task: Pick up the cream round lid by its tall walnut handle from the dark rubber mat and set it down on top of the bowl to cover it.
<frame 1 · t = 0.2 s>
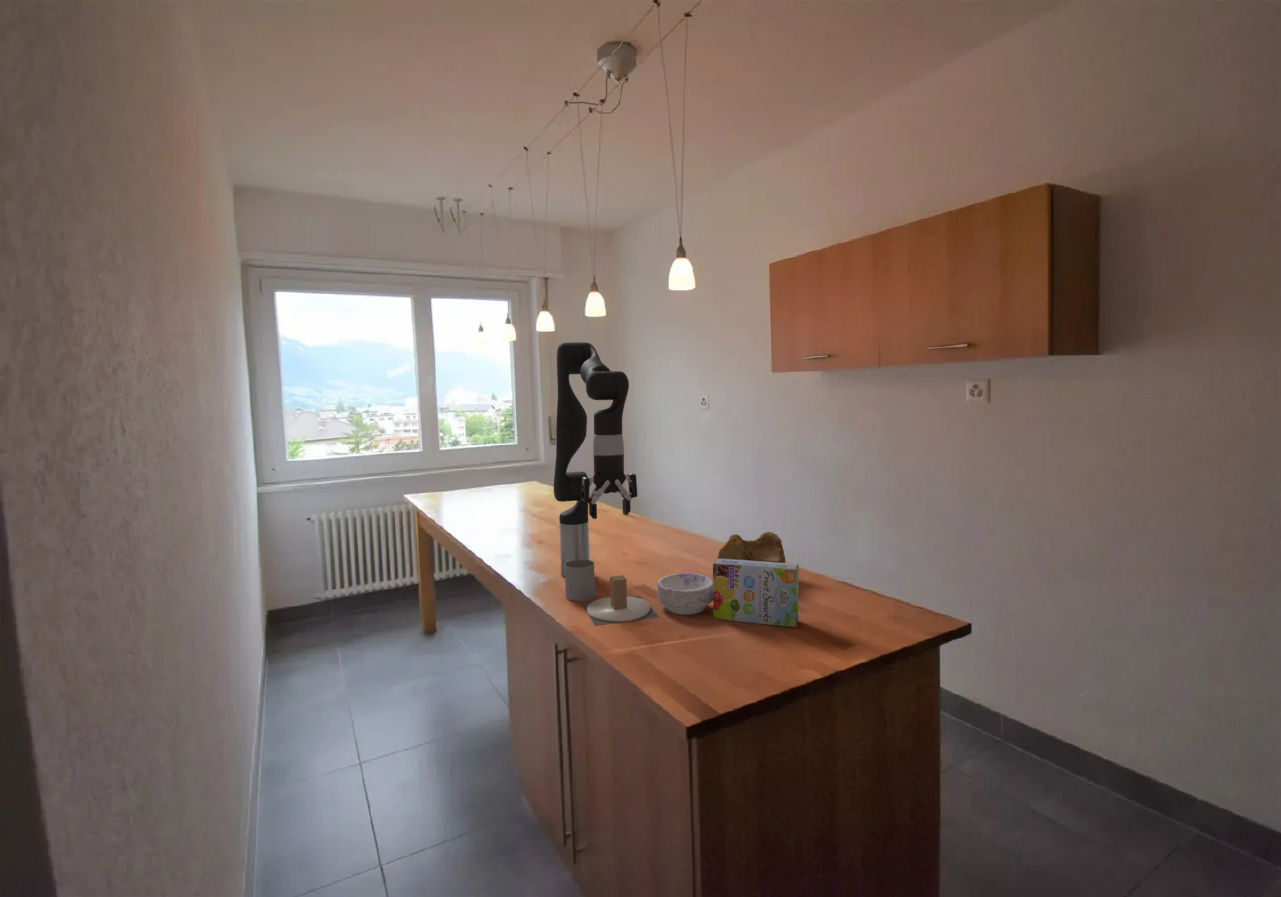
hand: (610, 516, 154), 28 cm above the table, tool pointing down, fingers open, 8 cm apart
mat: (618, 611, 165), on the table
snack box: (755, 620, 158), on the table
cup: (580, 598, 177), on the table
lid: (618, 609, 165), resting on mat
paper bowls: (685, 610, 166), on the table
rough brown rock: (757, 585, 186), on the table
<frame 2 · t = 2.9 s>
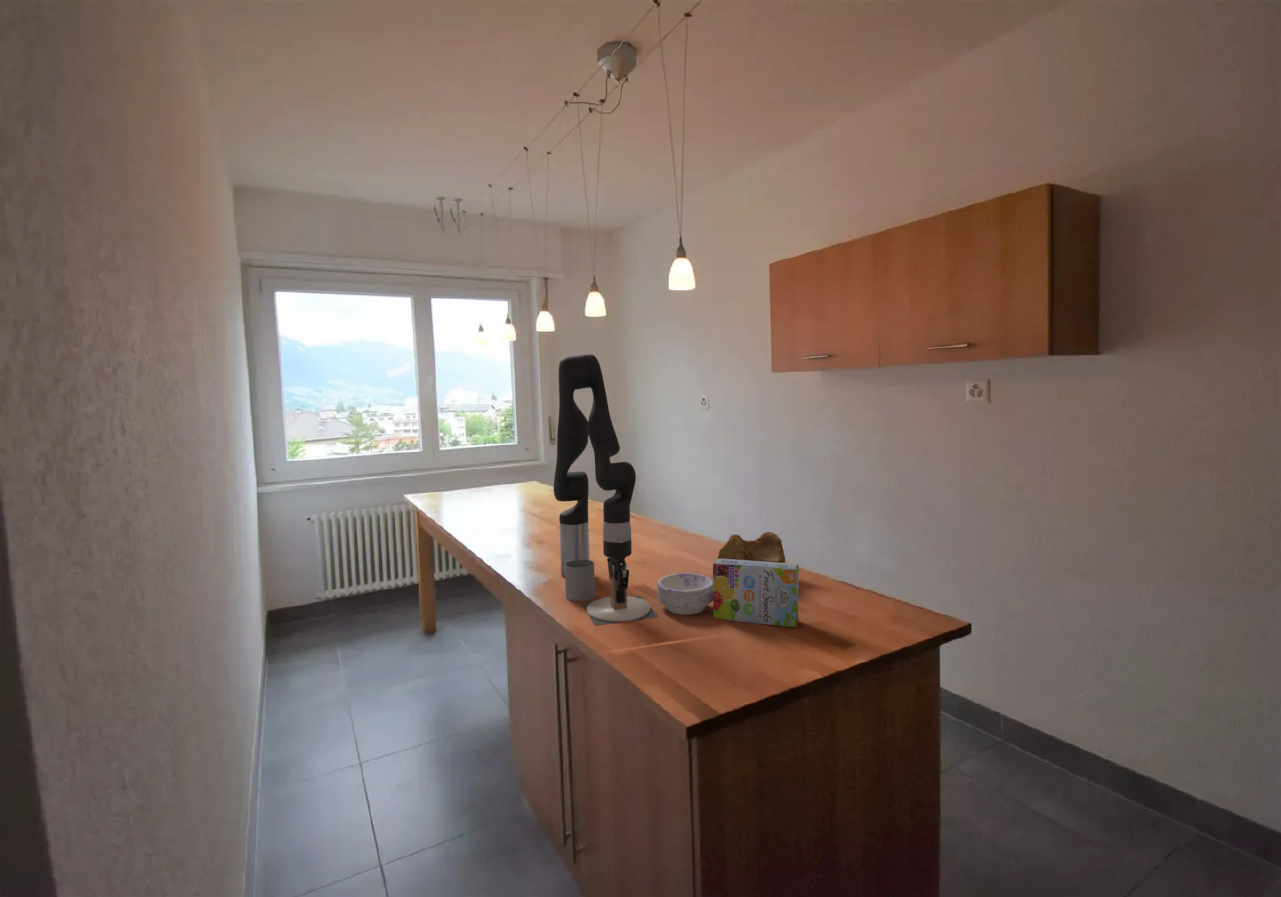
hand: (618, 600, 165), 3 cm above the table, tool pointing down, fingers closed on lid, 3 cm apart
lid: (618, 609, 165), resting on mat, touching gripper
everything else where it was.
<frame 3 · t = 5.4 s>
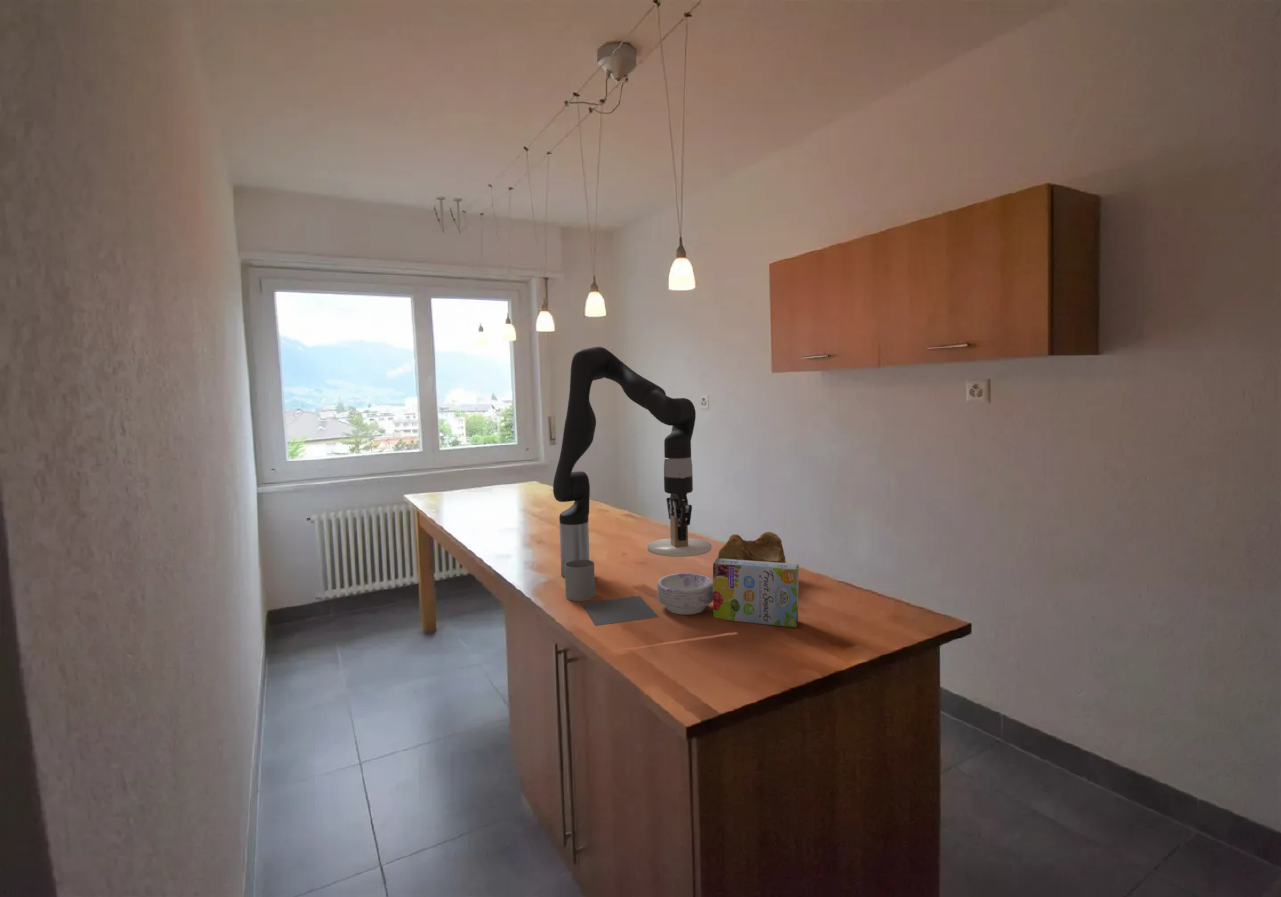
hand: (679, 538, 163), 20 cm above the table, tool pointing down, fingers closed on lid, 3 cm apart
lid: (679, 548, 163), point 17 cm above the table, touching gripper
everything else where it was.
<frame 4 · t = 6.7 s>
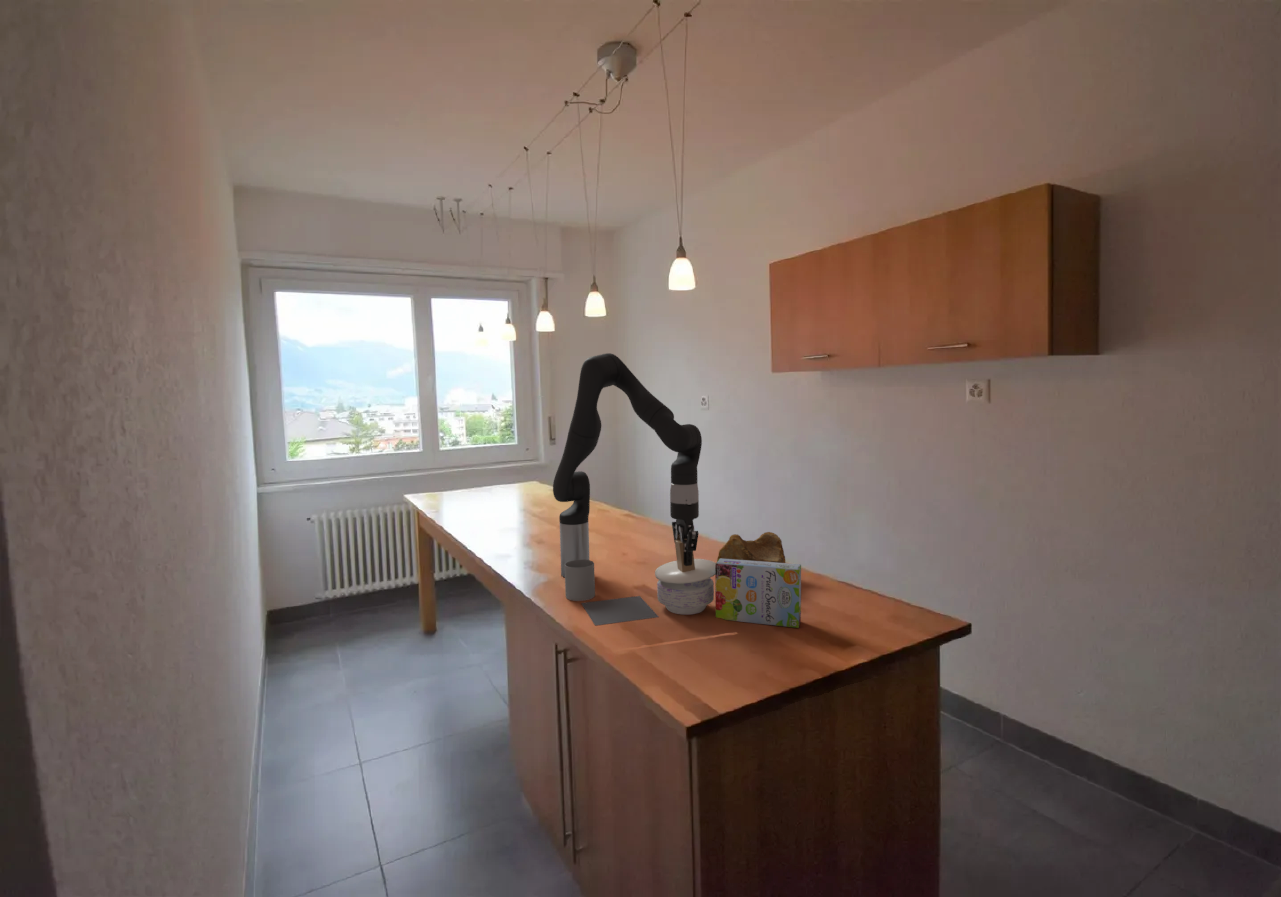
hand: (685, 562, 165), 13 cm above the table, tool pointing down, fingers closed on lid, 3 cm apart
lid: (686, 572, 165), point 10 cm above the table, tilted 6°, touching gripper
everything else where it was.
when the fingers open (12 cm above the table, at t = 7.8 s): lid drops 2 cm, resting on paper bowls.
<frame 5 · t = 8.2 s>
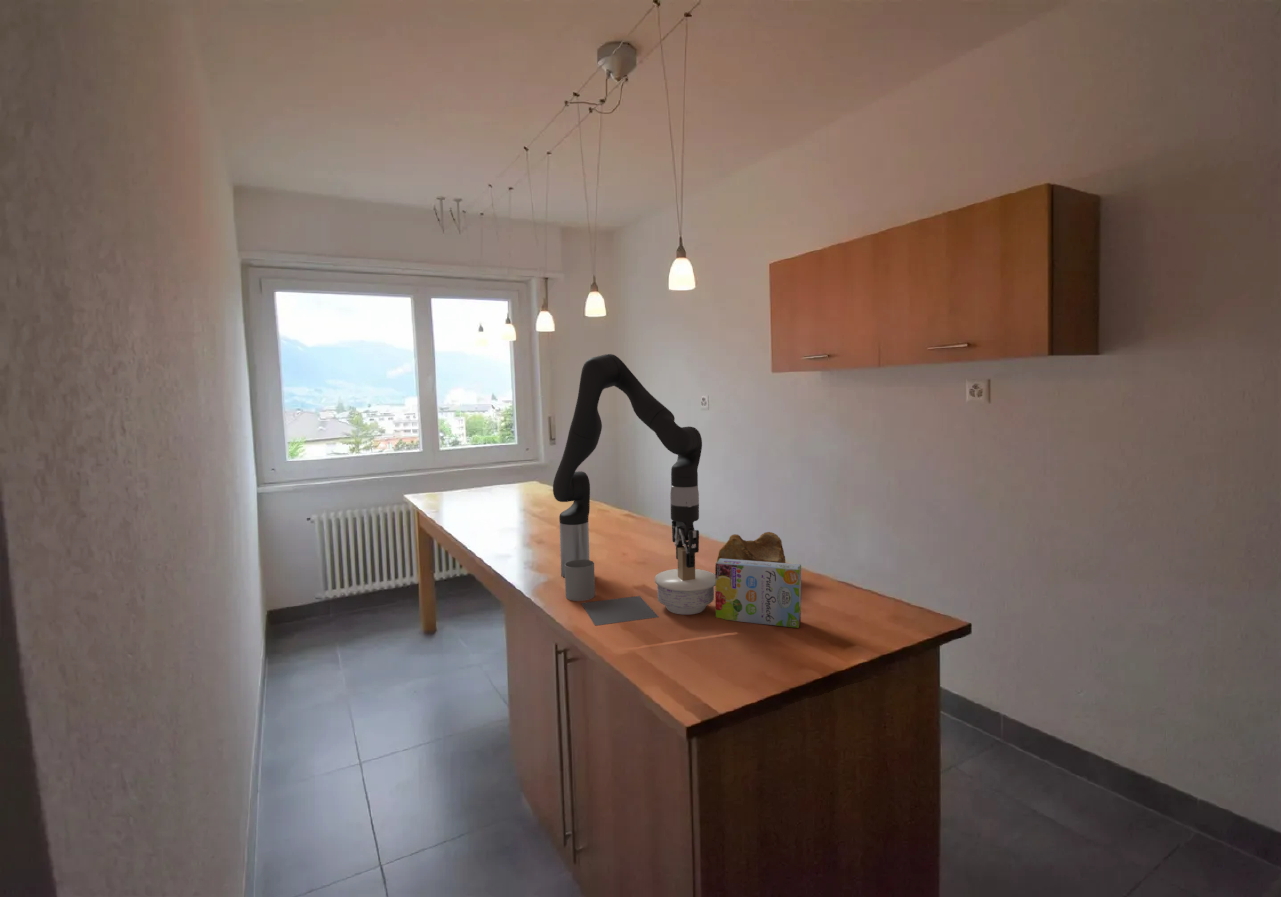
hand: (685, 563, 165), 13 cm above the table, tool pointing down, fingers open, 6 cm apart
lid: (686, 580, 165), point 8 cm above the table, touching paper bowls
paper bowls: (685, 610, 166), on the table, touching lid
everything else where it was.
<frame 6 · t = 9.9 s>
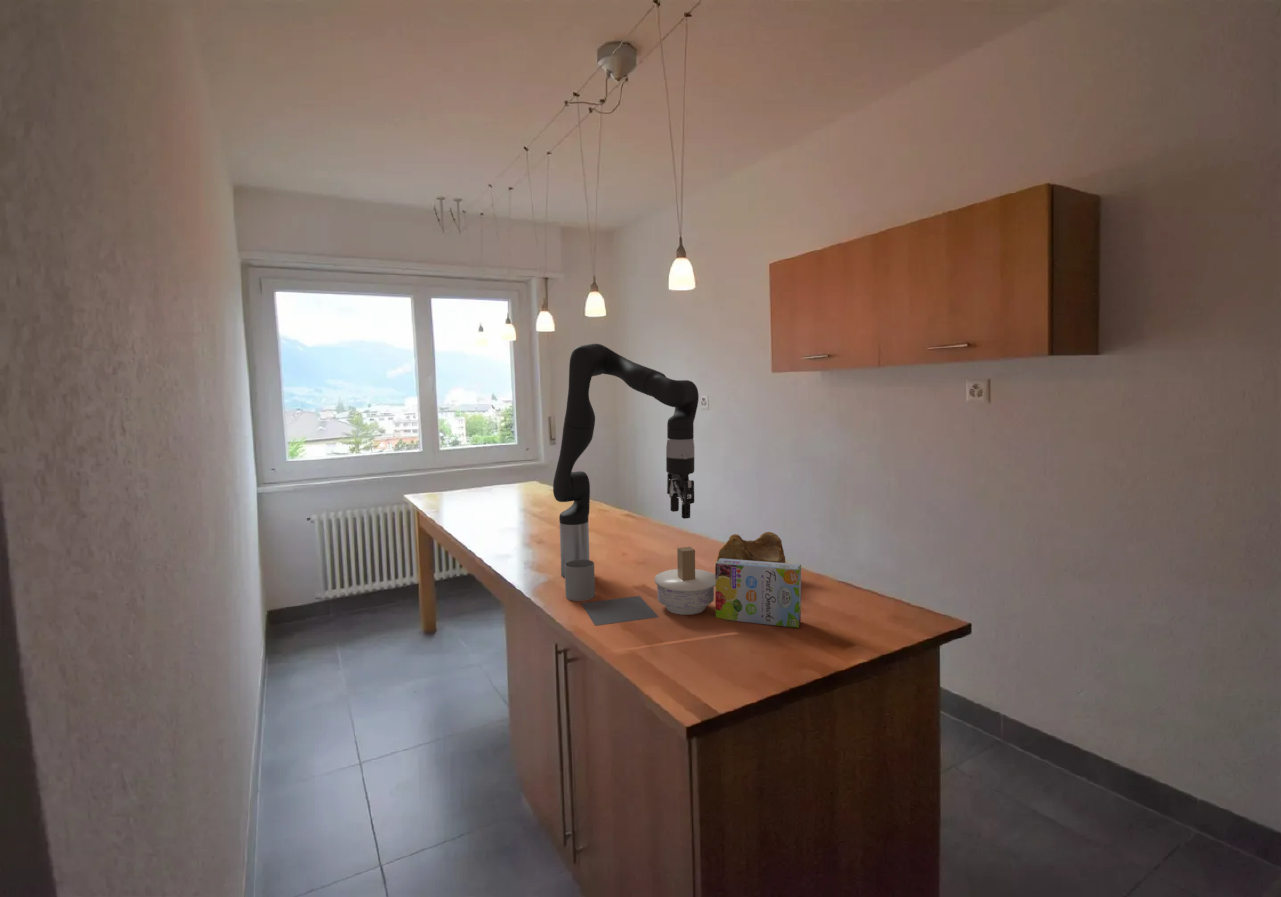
hand: (680, 514, 166), 25 cm above the table, tool pointing down, fingers open, 8 cm apart
nothing on the table moved.
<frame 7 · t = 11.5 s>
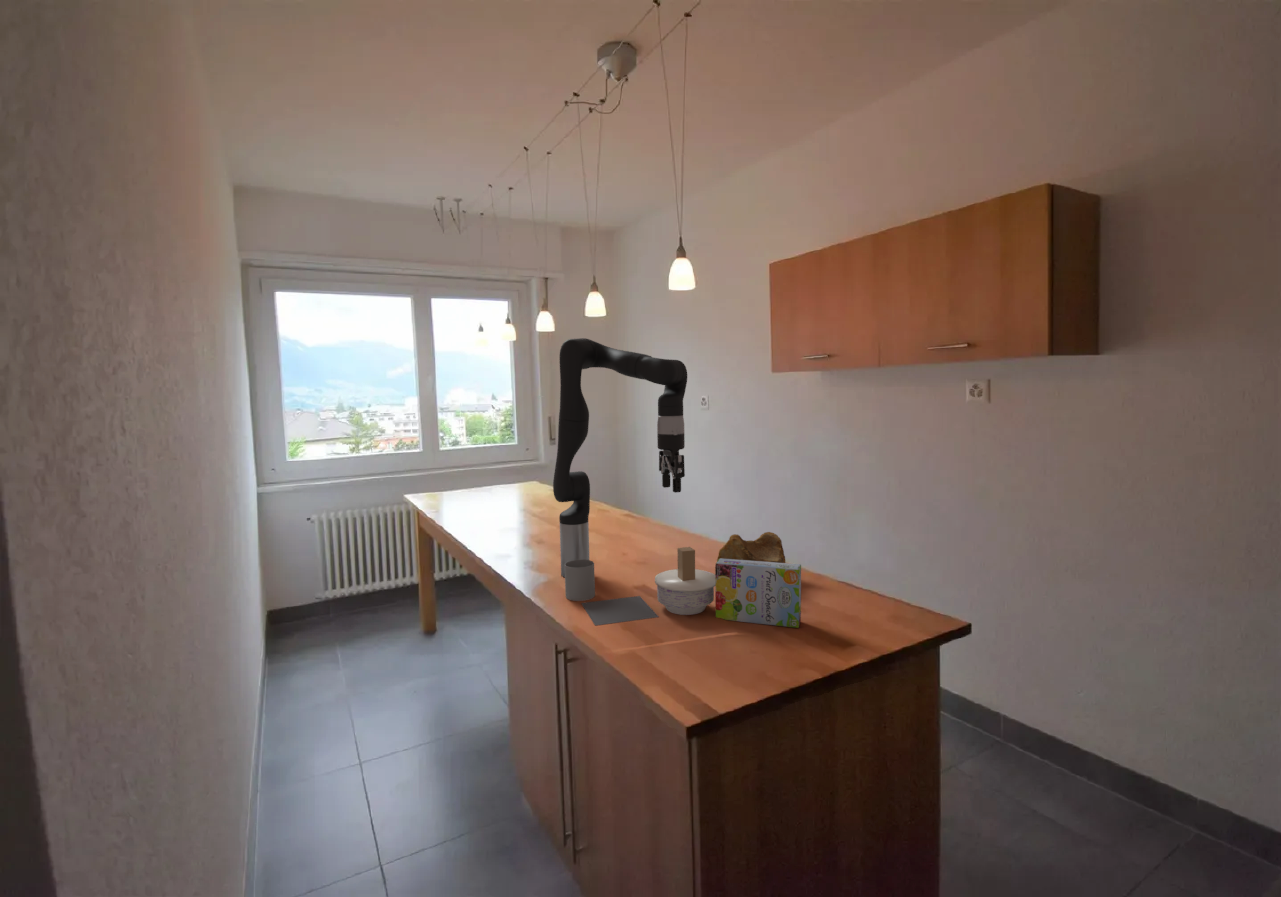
hand: (671, 489, 172), 31 cm above the table, tool pointing down, fingers open, 8 cm apart
nothing on the table moved.
at the end: lid inside the target area on the paper bowls (0.4 cm from its centre), point 8.1 cm above the paper bowls's base; lid tilted 0°; the gripper is holding nothing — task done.
